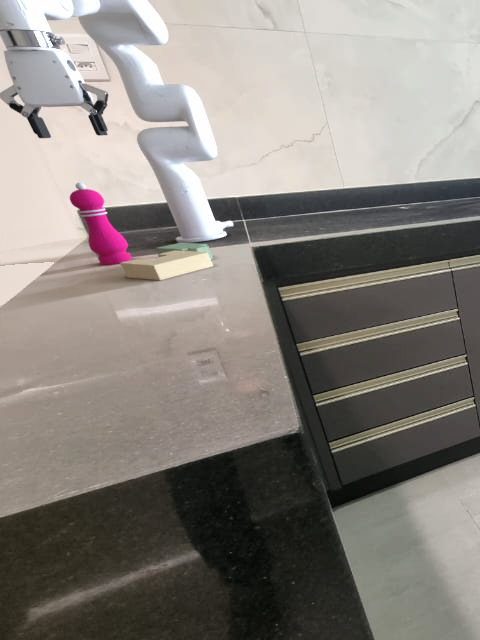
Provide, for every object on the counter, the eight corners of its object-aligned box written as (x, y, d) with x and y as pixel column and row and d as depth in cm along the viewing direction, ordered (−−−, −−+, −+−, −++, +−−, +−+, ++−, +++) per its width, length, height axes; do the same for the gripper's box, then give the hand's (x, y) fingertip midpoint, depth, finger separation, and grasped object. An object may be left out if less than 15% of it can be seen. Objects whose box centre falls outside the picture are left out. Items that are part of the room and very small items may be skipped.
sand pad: (180, 263, 134) (175, 250, 133) (213, 266, 130) (207, 252, 129) (126, 277, 124) (119, 262, 122) (160, 280, 120) (153, 265, 119)
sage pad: (186, 255, 143) (180, 242, 141) (219, 257, 139) (214, 244, 137) (161, 261, 138) (156, 247, 136) (195, 263, 134) (190, 249, 132)
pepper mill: (112, 265, 135) (73, 184, 127) (91, 265, 137) (50, 185, 128) (141, 258, 142) (106, 180, 133) (120, 258, 143) (84, 181, 134)
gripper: (95, 45, 111) (132, 134, 118) (-13, 46, 105) (33, 138, 113) (75, 41, 104) (115, 134, 112) (-41, 41, 99) (10, 139, 106)
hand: (74, 136), depth 112 cm, fingers open, 9 cm apart
